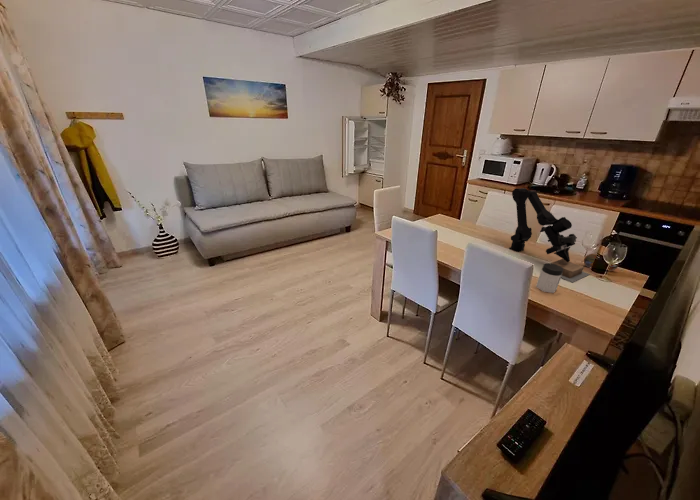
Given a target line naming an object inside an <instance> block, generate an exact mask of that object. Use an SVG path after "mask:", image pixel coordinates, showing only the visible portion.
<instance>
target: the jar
mask: <svg viewBox="0 0 700 500" xmlns="http://www.w3.org/2000/svg"><path fill="white" fill-rule="evenodd" d="M551 263H552V262H551ZM551 263H550V262H549V263H547V262H546V263H543V265H542V268H541V270H540V272H539V276H538V279H537V282H536V285H535V287H536V288H537V289H539V290H540V291H542V292H543V293H544V292H545V293H549V294H554V293H555V292H556V291H557V289H558V287H559V285H560V281H561V279H562V278H561V276H562V273H563V268H562V267H560V266H558V265H556V264H551Z"/></svg>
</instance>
